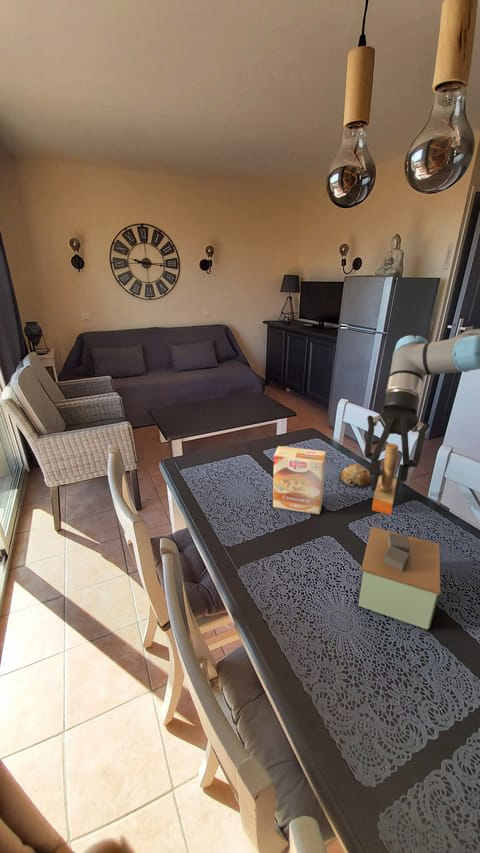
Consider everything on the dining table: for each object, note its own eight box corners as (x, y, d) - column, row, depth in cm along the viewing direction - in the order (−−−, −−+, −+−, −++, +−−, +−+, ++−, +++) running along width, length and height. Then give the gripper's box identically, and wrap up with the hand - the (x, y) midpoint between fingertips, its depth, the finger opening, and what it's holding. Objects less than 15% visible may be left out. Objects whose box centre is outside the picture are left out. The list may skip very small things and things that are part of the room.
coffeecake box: (272, 509, 115) (273, 455, 108) (277, 496, 122) (277, 445, 114) (320, 516, 111) (324, 461, 103) (322, 503, 117) (326, 450, 110)
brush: (377, 487, 88) (385, 435, 83) (395, 491, 87) (404, 438, 81) (371, 510, 80) (379, 453, 75) (391, 515, 78) (400, 457, 73)
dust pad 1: (406, 542, 83) (407, 535, 82) (408, 554, 79) (410, 547, 79) (387, 539, 84) (388, 532, 83) (389, 551, 80) (390, 544, 80)
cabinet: (433, 583, 87) (443, 544, 82) (433, 635, 75) (445, 593, 70) (365, 563, 93) (371, 526, 88) (356, 608, 81) (361, 568, 76)
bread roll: (339, 492, 129) (341, 480, 123) (340, 468, 136) (342, 456, 130) (369, 495, 127) (372, 483, 121) (368, 471, 133) (371, 458, 127)
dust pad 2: (408, 560, 78) (410, 553, 77) (402, 571, 75) (403, 564, 74) (390, 552, 80) (391, 545, 79) (383, 562, 77) (384, 555, 77)
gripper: (440, 408, 85) (426, 505, 78) (365, 399, 92) (346, 487, 85) (445, 393, 78) (430, 497, 72) (364, 385, 86) (343, 479, 79)
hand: (384, 491), depth 78 cm, fingers closed on brush, 4 cm apart
